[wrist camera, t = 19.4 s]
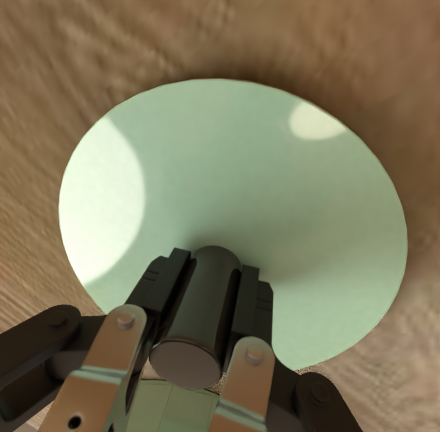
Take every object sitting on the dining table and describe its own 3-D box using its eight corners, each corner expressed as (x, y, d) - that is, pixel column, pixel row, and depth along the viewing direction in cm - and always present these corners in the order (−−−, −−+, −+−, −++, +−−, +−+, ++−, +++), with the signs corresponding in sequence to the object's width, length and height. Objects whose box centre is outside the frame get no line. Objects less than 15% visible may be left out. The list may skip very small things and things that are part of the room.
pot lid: (54, 42, 11) (-157, 27, 6) (481, 122, 10) (722, 200, 4) (86, 318, 19) (8, 420, 14) (325, 383, 18) (345, 526, 12)
